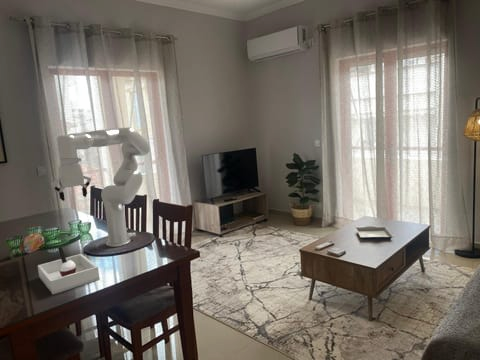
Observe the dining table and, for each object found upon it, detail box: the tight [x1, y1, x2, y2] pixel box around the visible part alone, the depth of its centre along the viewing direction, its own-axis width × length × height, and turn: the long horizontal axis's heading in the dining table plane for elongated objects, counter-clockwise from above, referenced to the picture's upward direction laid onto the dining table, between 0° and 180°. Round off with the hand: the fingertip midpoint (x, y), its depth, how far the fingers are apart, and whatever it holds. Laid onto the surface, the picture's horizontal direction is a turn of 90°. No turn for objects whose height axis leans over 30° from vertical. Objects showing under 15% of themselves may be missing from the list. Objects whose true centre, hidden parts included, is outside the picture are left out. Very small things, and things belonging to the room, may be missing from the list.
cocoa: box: [57, 246, 76, 277], centre depth 151 cm, size 10×6×12 cm, turn 27°
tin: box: [19, 232, 46, 254], centre depth 189 cm, size 15×3×8 cm, turn 168°
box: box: [37, 253, 100, 295], centre depth 151 cm, size 18×22×6 cm
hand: (74, 198), depth 167 cm, fingers open, 9 cm apart
